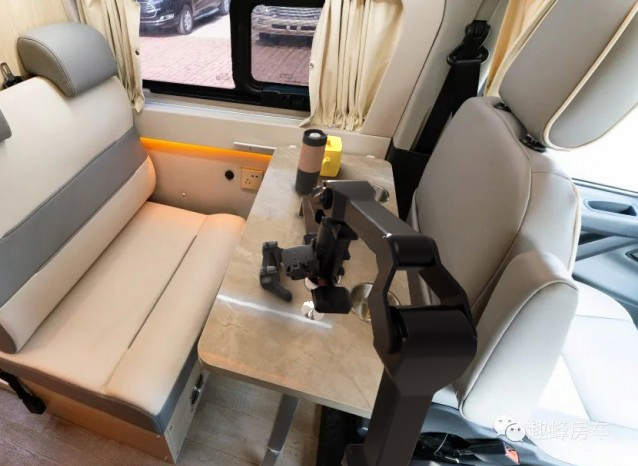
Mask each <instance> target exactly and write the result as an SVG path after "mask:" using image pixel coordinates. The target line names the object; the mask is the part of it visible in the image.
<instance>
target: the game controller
mask: <svg viewBox="0 0 638 466" xmlns="http://www.w3.org/2000/svg"><path fill="white" fill-rule="evenodd" d="M284 249H285V248H282V247H280V246H279V241H277V240H269V241H262V246H261V254H262V259H261V260H262V261H261V266H260V267H259V272H258V279H259V284H260V286H261V288H262V289H263V290H264V291H267V292H268V293H270V294H272V295H273V296H275V297H277V298H278V299H280V300H282V301H284V302H286V303H291V302H292V300H293V292H292V291H291V289H288V288H287V287H285V286H283V285H282V284H281V275H280V273H279V272H280V271H282V265H281V264H283V262H282V250H284Z"/></svg>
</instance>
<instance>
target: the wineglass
mask: <svg viewBox="0 0 638 466" xmlns="http://www.w3.org/2000/svg"><path fill="white" fill-rule="evenodd" d="M336 277H337V280H338V284H339V283H340V282H341V277H342V276H336ZM303 285H304V287H305V289H306V291H307V293H309V294H310V295H312V294H311V289H314V288H316V287H318V286H323V285H325V284H324V279H318V278H317V277H312V276H311V272H310V273H307V278H306V279H303ZM339 285H340V284H339ZM301 313H302V315H303V316H304V317H305V318H306V319H308V320H311V321H319V320H321V319H323V318H324V317H325V313H318V312H316V311H315V309H314V303H313V301H307V302H304V303H303V304H302V306H301Z"/></svg>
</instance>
